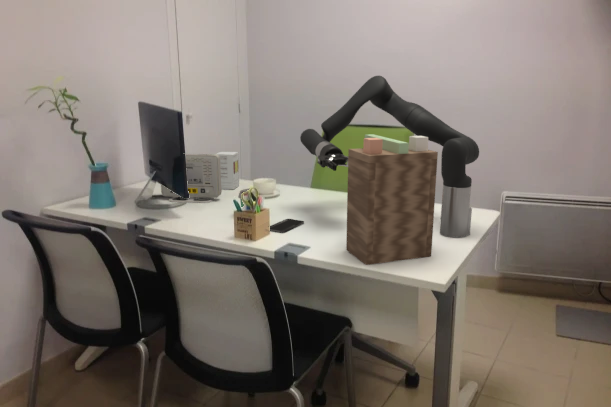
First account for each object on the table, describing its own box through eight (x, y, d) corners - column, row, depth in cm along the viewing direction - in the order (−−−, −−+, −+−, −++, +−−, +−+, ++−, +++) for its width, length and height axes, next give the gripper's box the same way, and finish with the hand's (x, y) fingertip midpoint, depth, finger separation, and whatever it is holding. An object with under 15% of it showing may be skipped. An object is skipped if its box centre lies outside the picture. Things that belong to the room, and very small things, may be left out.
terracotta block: (375, 151, 155) (376, 137, 154) (382, 153, 151) (382, 139, 150) (363, 152, 154) (363, 138, 153) (369, 154, 150) (370, 139, 149)
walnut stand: (407, 242, 175) (412, 145, 167) (431, 256, 162) (437, 152, 154) (346, 250, 167) (348, 149, 160) (366, 265, 155) (369, 155, 147)
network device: (223, 198, 234) (221, 153, 229) (217, 203, 226) (216, 156, 221) (166, 197, 236) (163, 152, 231) (159, 201, 228) (156, 155, 223)
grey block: (420, 149, 160) (421, 135, 159) (427, 150, 156) (428, 137, 155) (408, 149, 159) (409, 136, 158) (415, 151, 155) (416, 137, 154)
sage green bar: (372, 143, 171) (373, 134, 171) (408, 153, 151) (408, 142, 151) (364, 144, 170) (364, 134, 170) (398, 153, 150) (399, 143, 150)
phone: (264, 228, 188) (287, 218, 200) (264, 231, 188) (287, 221, 201) (283, 231, 184) (305, 221, 196) (283, 234, 184) (305, 224, 197)
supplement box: (233, 190, 250) (232, 154, 246) (215, 189, 252) (213, 154, 248) (239, 185, 260) (238, 151, 255) (221, 185, 261) (220, 151, 257)
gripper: (311, 144, 189) (329, 157, 175) (347, 143, 194) (367, 156, 180) (309, 164, 191) (326, 178, 177) (345, 163, 197) (364, 177, 183)
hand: (347, 167), depth 179 cm, fingers open, 8 cm apart
